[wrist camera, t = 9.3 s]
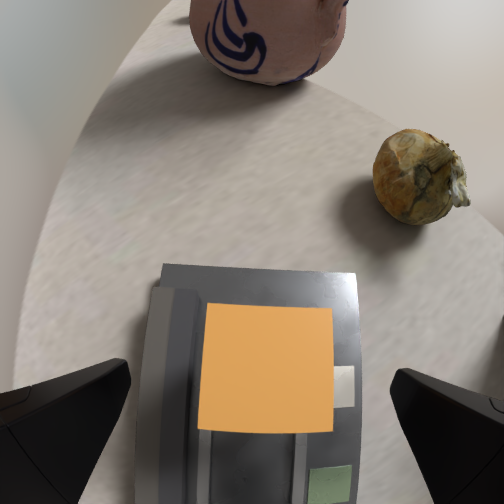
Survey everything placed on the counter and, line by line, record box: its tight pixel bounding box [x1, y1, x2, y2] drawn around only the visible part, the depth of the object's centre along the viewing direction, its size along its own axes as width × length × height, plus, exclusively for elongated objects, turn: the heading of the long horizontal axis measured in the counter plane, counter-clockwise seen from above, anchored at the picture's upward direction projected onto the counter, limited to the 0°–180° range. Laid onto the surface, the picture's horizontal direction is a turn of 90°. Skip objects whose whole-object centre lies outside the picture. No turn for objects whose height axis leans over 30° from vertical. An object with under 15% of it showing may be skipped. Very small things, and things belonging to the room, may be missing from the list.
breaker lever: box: [198, 303, 334, 433], centre depth 11 cm, size 4×4×8 cm
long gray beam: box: [135, 286, 199, 504], centre depth 13 cm, size 16×2×1 cm, turn 177°
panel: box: [159, 263, 362, 504], centre depth 14 cm, size 20×12×2 cm, turn 177°
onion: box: [373, 129, 471, 225], centre depth 20 cm, size 8×8×8 cm
